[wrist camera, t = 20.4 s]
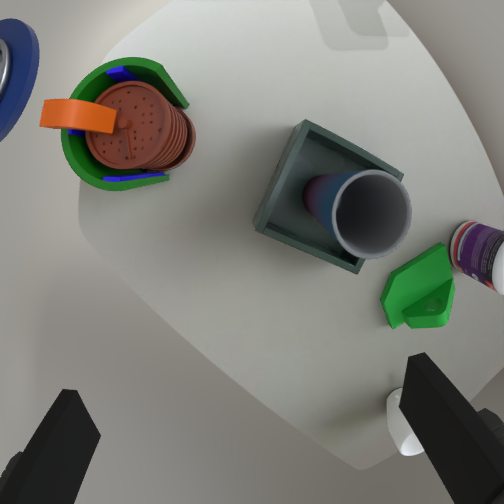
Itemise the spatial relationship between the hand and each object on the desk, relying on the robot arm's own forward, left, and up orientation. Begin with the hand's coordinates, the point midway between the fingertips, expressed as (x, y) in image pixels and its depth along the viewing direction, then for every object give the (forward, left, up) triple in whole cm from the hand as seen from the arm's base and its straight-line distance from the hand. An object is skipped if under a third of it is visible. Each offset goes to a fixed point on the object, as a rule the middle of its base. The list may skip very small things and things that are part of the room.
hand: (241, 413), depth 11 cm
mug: (+35, -14, -29) cm, 47 cm away
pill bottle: (+32, +13, -29) cm, 45 cm away
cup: (+7, +9, -28) cm, 30 cm away
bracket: (+26, +4, -29) cm, 39 cm away
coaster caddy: (-14, +8, -29) cm, 33 cm away
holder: (+7, +9, -29) cm, 31 cm away
